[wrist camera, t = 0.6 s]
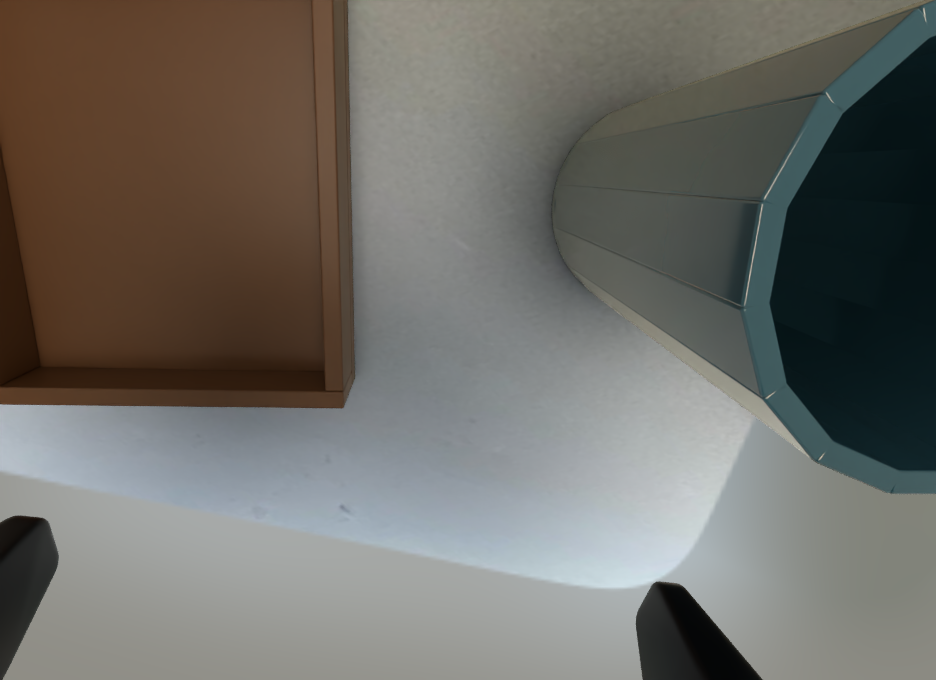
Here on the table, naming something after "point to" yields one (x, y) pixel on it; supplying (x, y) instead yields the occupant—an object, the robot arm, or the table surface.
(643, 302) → the tumbler
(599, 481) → the table surface
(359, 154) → the table surface
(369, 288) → the table surface
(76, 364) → the tray
